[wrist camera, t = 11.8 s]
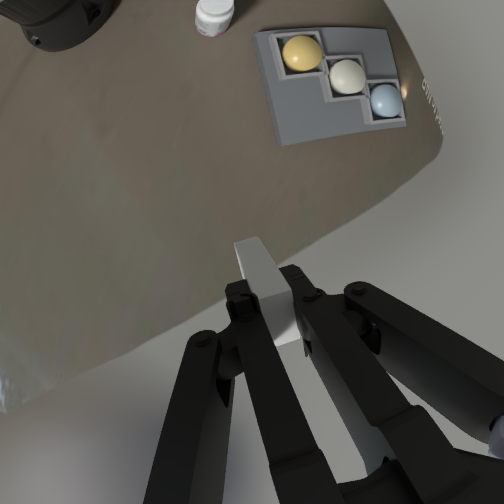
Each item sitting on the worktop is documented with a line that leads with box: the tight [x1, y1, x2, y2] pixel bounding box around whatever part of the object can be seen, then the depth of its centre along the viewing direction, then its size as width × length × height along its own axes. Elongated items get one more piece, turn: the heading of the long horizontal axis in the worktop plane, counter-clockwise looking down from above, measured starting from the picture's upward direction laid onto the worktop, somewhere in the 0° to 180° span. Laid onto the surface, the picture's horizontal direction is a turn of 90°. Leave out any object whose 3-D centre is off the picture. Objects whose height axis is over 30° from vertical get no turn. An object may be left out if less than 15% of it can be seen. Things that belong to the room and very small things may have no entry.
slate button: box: [369, 85, 402, 117], centre depth 38 cm, size 5×5×2 cm
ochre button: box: [281, 36, 322, 72], centre depth 33 cm, size 5×5×2 cm
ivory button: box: [328, 60, 366, 94], centre depth 36 cm, size 5×5×2 cm
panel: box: [252, 27, 406, 146], centre depth 37 cm, size 17×22×4 cm
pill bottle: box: [195, 0, 234, 37], centre depth 29 cm, size 5×5×8 cm
